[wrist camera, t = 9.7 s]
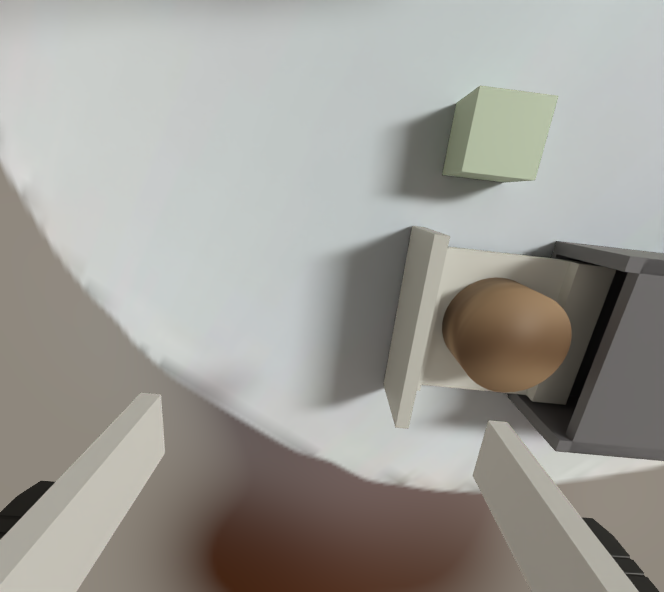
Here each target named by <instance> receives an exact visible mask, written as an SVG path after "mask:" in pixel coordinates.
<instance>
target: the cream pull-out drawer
mask: <svg viewBox="0 0 664 592" xmlns="http://www.w3.org/2000/svg"><path fill="white" fill-rule="evenodd" d="M449 239H450V236H448V235H445V234H442V233H440V232H437V231H434V230H431V229H428V228H425V227H418V226H412V230H411V235H410V241H409V246H408V252H407V257H406V263H405V268H404V274H403V280H402V285H401V291H400V296H399V302H398V307H397V313H396V318H395V324H394V329H393V335H392V340H391V346H390V351H389V357H388V362H387V368H386V373H385V379H384V388H385V392H386V395H387V399H388V402H389V406H390V410H391V413H392V417H393V420H394V424H395V427H396V428H405V429H408V428H409V424H410V419H411V414H412V410H413V405H414V400H415V396H416V391H420V388H421V385H429V386H439V387H450V388H460V389H471V390H481V391H491V392H496V391H492V390H488V389H486V388H483V387H481V386H480V385H478V384H476V383H475V382H474V381H473V380H472V379H471V378H470V377H469V376H468V375H467V373H466V372H465V371H464V369H463V368H462V367H461V365H460V364H459V363H458V361H457V360H456V359H455V357H454V356H453V355H452V353H451V352H450V351H449V349H448V348H447V346H446V344H445V342H444V339H443V334H442V322H443V317H444V314H445V311H446V309H447V307H448V305H449V304H450V302H451V301H452V299H453V298H454V297H455V296H456V295H457V294H458V293H459V292H460V291H461V290H463V289H464V288H465V287H467V286H469V285H470V284H472V283H474V282H477V281H480V280H482V279H487V278H495V277H496V278H507V279H511V280H514V281H516V282H518V283H520V284H522V285H524V286H526V287H528V288H530V289H533V290H535V291H537V292H539V293H541V294H543V295H545V296H547V297H549V298H551V299H553V300H554V301H556V302H557V303H558V304H559V305H560V306H561V307H562V308H563V309H564V311H565V312H566V314H567V316H568V318H569V321H570V324H571V330H572V338H571V344H570V348H569V351H568V353H567V355H566V357H565V359H564V361H563V362H562V364H561V365H560V366H559V368H558V369H557V370H556V371H555V372H554V373H553V374H552V375H551V376H550V377H548V378H547V379H546V380H544V381H543V382H541V383H539V384H538V385H536V386H533V387H531V388H529V389H525V390H522V391H517V392H502V393H512V394H522V395H527V396H528V397H529V399H530V400H531V401H532V402H543V403H553V404H563V405H566V402H567V400H568V397H569V394H570V392H571V389H572V386H573V384H574V381H575V378H576V376H577V373H578V370H579V368H580V365H581V362H582V360H583V357H584V354H585V352H586V349H587V347H588V344H589V341H590V339H591V336H592V333H593V331H594V328H595V325H596V323H597V320H598V317H599V315H600V312H601V309H602V307H603V304H604V301H605V299H606V296H607V293H608V291H609V288H610V285H611V283H612V280H613V277H614V275H615V272H616V270H615V269H612V268H608V267H604V266H600V265H596V264H593V263H589V262H580V261H572V260H563V259H554V258H545V257H536V256H527V255H519V254H510V253H501V252H492V251H483V250H474V249H465V248H457V247H448V244H449Z"/></svg>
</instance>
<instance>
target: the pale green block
mask: <svg viewBox="0 0 664 592" xmlns="http://www.w3.org/2000/svg"><path fill="white" fill-rule="evenodd" d="M557 99H558V96H555V95H547V94H540V93H532V92H525V91H517V90H510V89H502V88H494V87H487V86H479V87H478V88H476V89H475V90H473V91H472V92H471V93H469V94H468V95H467V96H465V97H464V98H462V99H461V100H460V101H458V102H457V103H456V107H455V113H454V118H453V123H452V128H451V133H450V138H449V143H448V148H447V153H446V158H445V163H444V168H443V173H442V175H447V176H456V177H464V178H472V179H480V180H488V181H497V182H518V181H532V180H535V178H536V175H537V171H538V168H539V164H540V160H541V157H542V153H543V150H544V146H545V142H546V139H547V135H548V132H549V128H550V124H551V121H552V117H553V114H554V110H555V106H556V103H557Z"/></svg>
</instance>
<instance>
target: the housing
mask: <svg viewBox="0 0 664 592" xmlns="http://www.w3.org/2000/svg"><path fill="white" fill-rule="evenodd" d="M551 258H554V259H563V260H572V261H580V262H589V263H593V264H596V265H600V266H604V267H608V268H612V269H615V270H616V272H615V275H614V277H613V280H612V283H611V285H610V288H609V291H608V293H607V296H606V299H605V301H604V304H603V307H602V309H601V312H600V315H599V317H598V320H597V323H596V325H595V328H594V331H593V333H592V336H591V339H590V341H589V344H588V347H587V349H586V352H585V354H584V357H583V360H582V362H581V365H580V368H579V370H578V373H577V376H576V378H575V381H574V384H573V386H572V389H571V392H570V394H569V397H568V400H567V402H566V405H563V404H553V403H543V402H532V401H531V400H530V399H529V397H528V396H527V395H522V394H512V393H509V394H508V398H509V399H510V400H511V401H512V402H513V403H514V405H515V406H516V407H517V408H518V409H519V410H520V411H521V413H522V414H523V415H524V416H525V417H526V418H527V419H528V421H529V422H530V423H531V424H532V425H533V426H534V427H535V428H536V430H537V431H538V432H539V433H540V434H541V435H542V436H543V438H544V439H545V440H546V441H547V442H548V443H549V444H550V446H551V447H552V448H553V449H554V450H555V451H559V452H570V453H581V454H592V455H603V456H614V457H625V458H636V459H647V460H658V461H664V253H656V252H647V251H638V250H630V249H621V248H612V247H603V246H595V245H586V244H577V243H569V242H560V241H556V244H555V247H554V250H553V254H552V257H551Z"/></svg>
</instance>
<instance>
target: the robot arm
mask: <svg viewBox="0 0 664 592" xmlns="http://www.w3.org/2000/svg"><path fill="white" fill-rule="evenodd" d="M164 454H165V445H164V432H163V416H162V402H161V394H149V393H140V394H139V395H138V396H137V397H136V398H135V399H134V400H133V402H131V403H130V405H129V406H128V407H127V408H126V409H125V410H124V411H123V412H122V413H121V414H120V415H119V416H118V417H117V418H116V419H115V420H114V421H113V423H111V425H109V427H108V428H107V429H106V430H105V431H104V432H103V433H102V434H101V435H100V436H99V437H98V438H97V439H96V440H95V441H94V442H93V443H92V444H91V445H90V446H89V447H88V449H87V450H86V451H85V452H84V453H83V454H82V455H81V456H80V457H79V458H78V459H77V460H76V461H75V462H74V463H73V464H72V465H71V466H70V468H68V469H67V471H66V472H65V473H64V474H63V475H62V476H61V477H60V478H59V479H58V480H57V481H56V482H50V481H40V482H38V483H37V484H35V485H34V486H32V487H30V488H29V489H27V490H26V491H24V492H23V493H21V494H20V495H18V496H17V497H16V498H15V499H14V500H13V501H12V502H11V503H9V504H8V505H7V506H6V507H5V508H4V509H3V510H2V511H1V512H0V592H76V591H77V590H78V588H79V587H80V585H81V584H82V582H83V580H84V579H85V577H86V576H87V574H88V573H89V571H90V570H91V568H92V566H93V565H94V563H95V562H96V560H97V558H98V557H99V555H100V554H101V552H102V551H103V549H104V547H105V546H106V544H107V543H108V541H109V540H110V538H111V537H112V535H113V534H114V532H115V530H116V529H117V527H118V526H119V524H120V523H121V521H122V519H123V518H124V516H125V515H126V513H127V512H128V510H129V508H130V507H131V505H132V504H133V502H134V501H135V499H136V498H137V496H138V494H139V493H140V491H141V490H142V488H143V487H144V485H145V483H146V482H147V480H148V479H149V477H150V476H151V474H152V473H153V471H154V469H155V468H156V466H157V465H158V463H159V462H160V460H161V458H162V457H163V455H164ZM473 477H474V479H475V481H476V483H477V485H478V487H479V489H480V491H481V493H482V495H483V497H484V499H485V501H486V503H487V505H488V507H489V509H490V511H491V513H492V515H493V517H494V519H495V521H496V523H497V525H498V527H499V529H500V530H501V533H502V535H503V537H504V539H505V541H506V542H507V545H508V546H509V548H510V550H511V552H512V554H513V556H514V558H515V560H516V562H517V564H518V566H519V568H520V570H521V572H522V574H523V576H524V578H525V580H526V582H527V584H528V586H529V588H530V590H531V592H659V591H658V589H657V588H656V587H655V586H654V585H653V583H652V582H651V581H650V580H649V579H648V578H647V577H645V576H644V573H643V571H642V570H641V569H640V568H639V566H638V565H637V564H636V563H635V562H634V560H631V559H630V556H629V554H628V553H627V552H626V551H625V549H624V548H623V547H622V546H621V545H620V543H619V542H618V541H617V540H616V539H615V537H614V536H613V535H612V534H610V533H609V532H608V531H607V530H606V529H605V528H603V527H602V526H601V525H600V524H599V523H597V522H596V521H595V520H594V519H592V518H581V516H580V515H579V514H578V512H577V511H576V510H575V509H574V507H573V506H572V505H571V504H570V502H569V501H568V500H567V498H566V497H565V496H564V495H563V493H562V492H561V491H560V489H559V488H558V487H557V485H556V484H555V483H554V482H553V480H552V479H551V478H550V476H549V475H548V474H547V472H546V471H545V470H544V469H543V467H542V466H541V465H540V463H539V462H538V461H537V460H536V458H535V457H534V456H533V454H532V453H531V452H530V451H529V449H528V448H527V447H526V445H525V444H524V443H523V442H522V440H521V439H520V438H519V436H518V435H517V434H516V433H515V431H514V430H513V429H512V427H511V426H510V425H509V423H508V422H502V421H489V420H488V423H487V427H486V430H485V434H484V437H483V441H482V444H481V448H480V451H479V455H478V458H477V462H476V466H475V469H474V473H473Z"/></svg>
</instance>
